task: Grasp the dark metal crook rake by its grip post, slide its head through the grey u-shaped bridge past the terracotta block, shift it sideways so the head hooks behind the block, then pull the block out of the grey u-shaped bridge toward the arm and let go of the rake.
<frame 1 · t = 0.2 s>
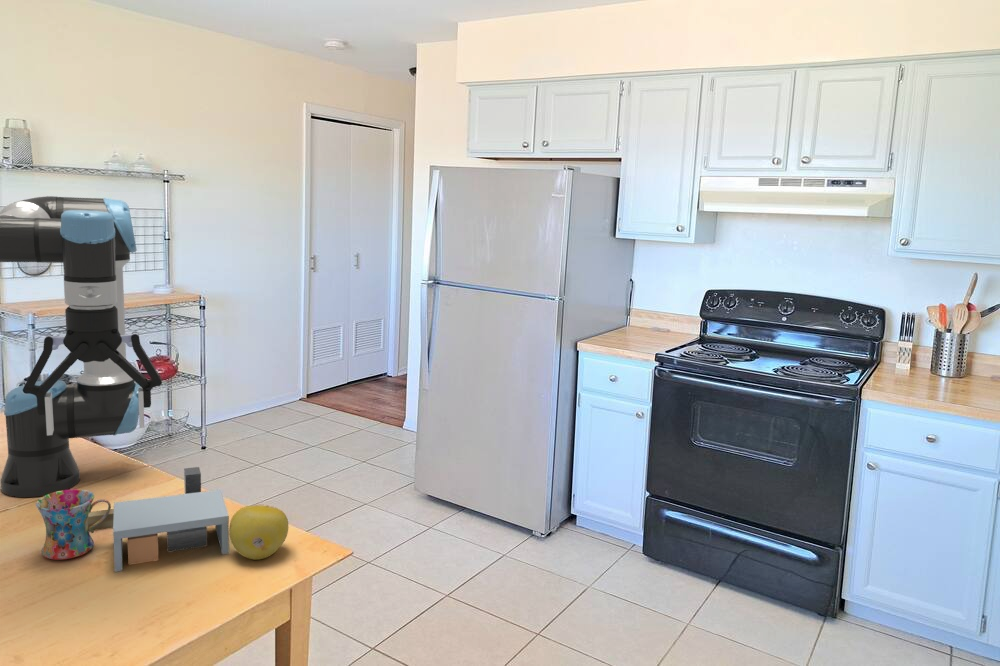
hand: (97, 429, 123), 28 cm above the table, fingers open, 13 cm apart
l-shaped tan bracket: (74, 530, 144), on the table
crook: (193, 510, 156), on the table
grey u-shaped bridge: (171, 547, 140), on the table
block: (143, 556, 136), on the table
fruit: (259, 554, 140), on the table
mug: (76, 551, 137), on the table
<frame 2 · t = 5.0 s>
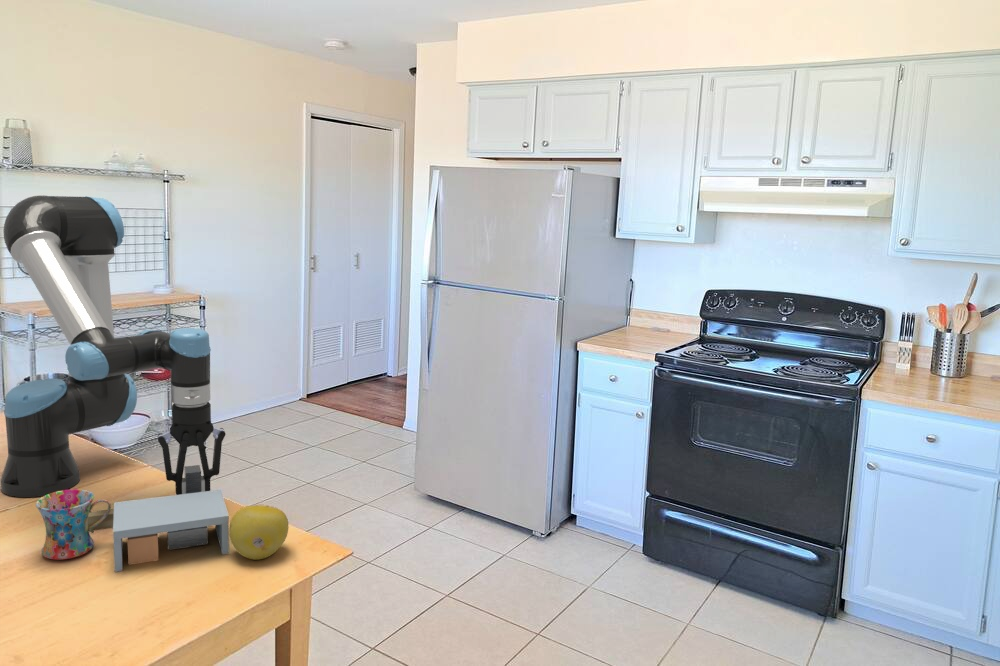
hand: (193, 507, 155), 1 cm above the table, fingers closed on crook, 3 cm apart
crook: (193, 508, 156), point 1 cm above the table, touching gripper
everything else where it was.
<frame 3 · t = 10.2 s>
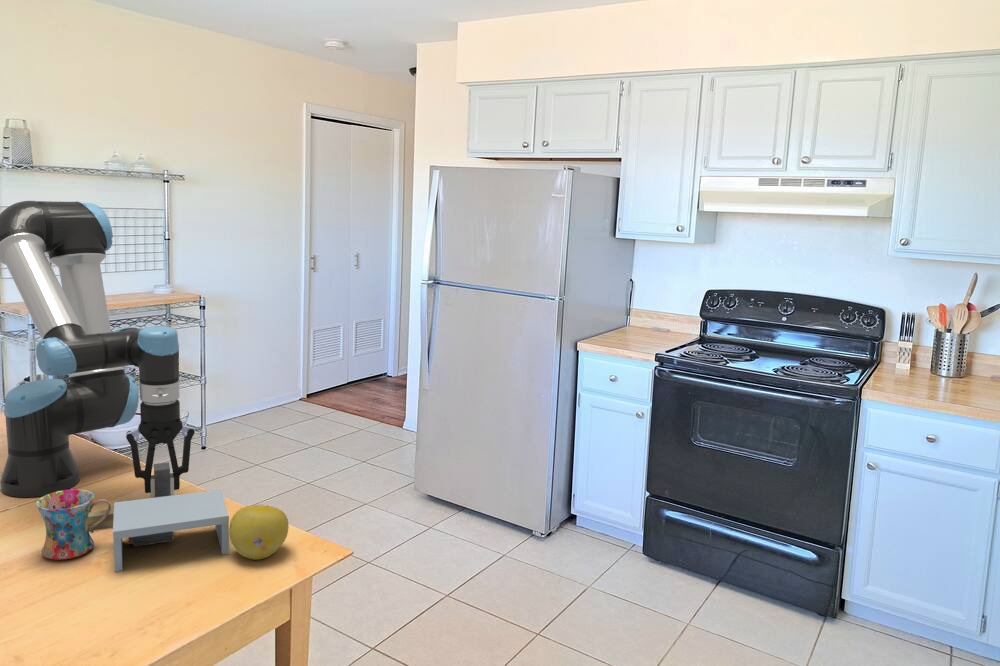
hand: (162, 504, 156), 1 cm above the table, fingers closed on crook, 3 cm apart
crook: (162, 505, 156), on the table, touching block, gripper
block: (142, 536, 144), on the table, touching crook
everything else where it was.
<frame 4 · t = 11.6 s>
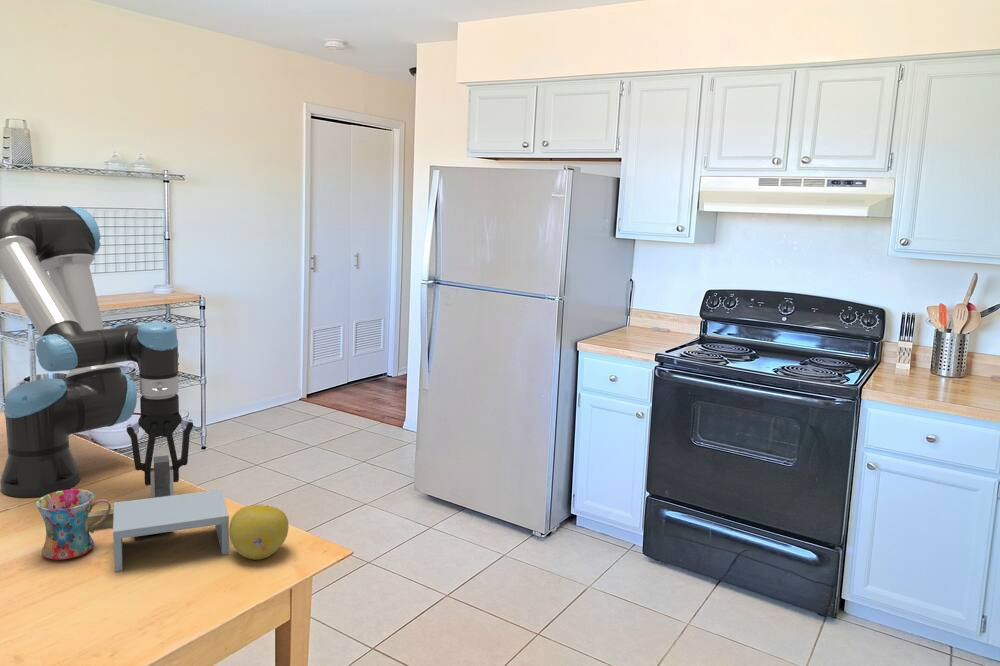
hand: (162, 496, 160), 1 cm above the table, fingers closed on crook, 3 cm apart
crook: (162, 497, 160), point 1 cm above the table, touching block, gripper
block: (142, 527, 147), on the table, touching crook
everything else where it was.
when the fingers open (0 cm above the table, at t = 13.2 s): crook stays where it is, on the table.
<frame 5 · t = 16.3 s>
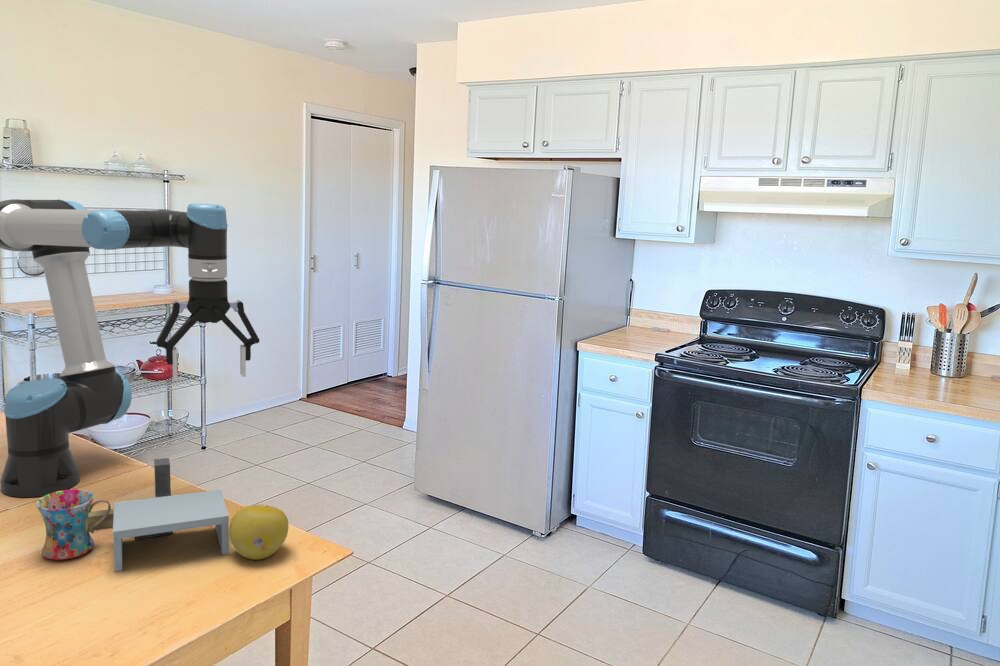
hand: (209, 377, 155), 29 cm above the table, fingers open, 13 cm apart
crook: (163, 500, 160), on the table
block: (142, 527, 147), on the table
everything else where it was.
at the end: block inside the target area (3.5 cm from its centre), on the table; block moved 12.6 cm from its start; the gripper is holding nothing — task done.
